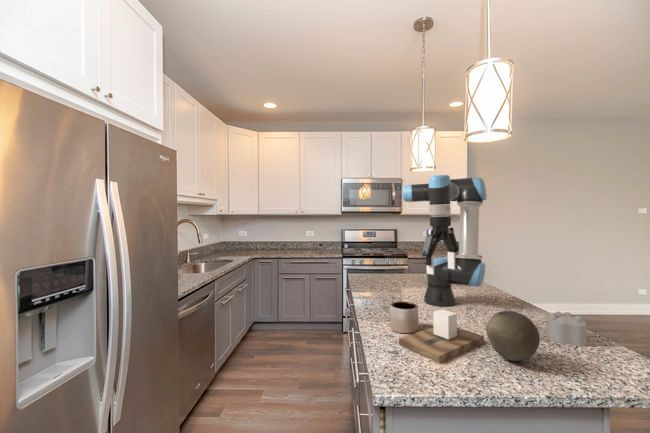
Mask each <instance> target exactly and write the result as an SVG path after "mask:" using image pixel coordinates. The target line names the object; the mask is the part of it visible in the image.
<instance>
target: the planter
mask: <svg viewBox="0 0 650 433" xmlns="http://www.w3.org/2000/svg"><path fill="white" fill-rule="evenodd" d="M389 314H390V315H389V316H390V322H389V324H390V329H391V330H393V331H394V332H395V333H399V334H404V335H407V334H409V335H411V334H414V333H417V332H419V306H418V304H416V303H414V302H410V301H409V302H408V301H393V302H391V303H390V313H389Z"/></svg>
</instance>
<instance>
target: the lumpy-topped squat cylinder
mask: <svg viewBox="0 0 650 433" xmlns="http://www.w3.org/2000/svg"><path fill="white" fill-rule="evenodd" d="M546 317H547V318H546V319H547V336H548V337H549V339H551V340H552V341H553V342H556V343H558V344H563V345H571V346H579V347H586V346H587V345H588V343H587V341H588V340H587V338H588V336H587V333H588V332H587V329H588V328H587V323H586V322H585V321H584V318H583V317H582V316H580V315H575V316H574V315H572V314H571V313H570V312H569V311H568V312H564V313H563V312H561V311H555V312H550V313H549V314H548V315H547V316H546Z"/></svg>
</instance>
